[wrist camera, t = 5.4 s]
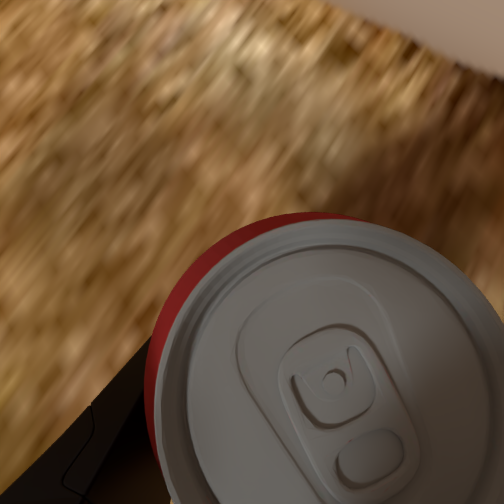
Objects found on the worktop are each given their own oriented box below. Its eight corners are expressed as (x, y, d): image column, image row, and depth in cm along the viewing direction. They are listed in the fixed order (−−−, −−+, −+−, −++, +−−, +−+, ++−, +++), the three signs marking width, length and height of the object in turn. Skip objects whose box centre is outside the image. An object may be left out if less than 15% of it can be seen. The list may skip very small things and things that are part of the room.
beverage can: (304, 254, 17) (422, 114, 5) (366, 374, 16) (696, 533, 4) (189, 308, 16) (37, 283, 5) (243, 437, 15) (221, 837, 3)
